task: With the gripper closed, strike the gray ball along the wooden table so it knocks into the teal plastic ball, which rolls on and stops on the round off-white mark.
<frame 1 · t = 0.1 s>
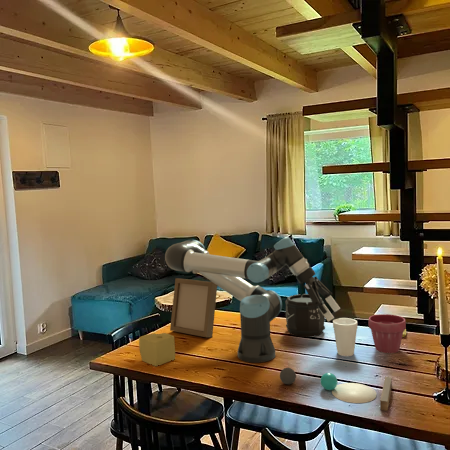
hand: (334, 314, 186), 15 cm above the table, tool tilted 35°, fingers open, 13 cm apart
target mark: (353, 392, 151), on the table
saucer: (395, 335, 205), on the table
photo frame: (197, 331, 221), on the table
black lettered pot: (304, 331, 214), on the table
gray ball: (287, 376, 160), on the table
foam cup: (345, 353, 185), on the table
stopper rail: (386, 397, 147), on the table
plant pot: (387, 349, 187), on the table
object ball: (328, 381, 154), on the table
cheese: (158, 360, 186), on the table
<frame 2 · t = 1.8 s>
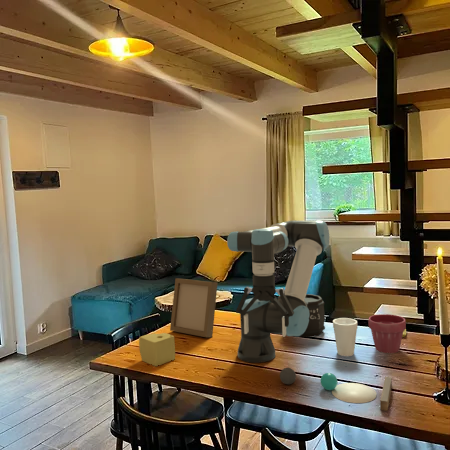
hand: (265, 334, 162), 17 cm above the table, tool pointing down, fingers open, 13 cm apart
nothing on the table moved.
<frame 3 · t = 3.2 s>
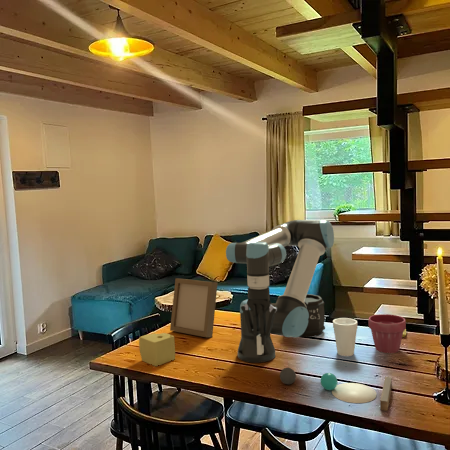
hand: (260, 353, 162), 10 cm above the table, tool pointing down, fingers closed
nothing on the table moved.
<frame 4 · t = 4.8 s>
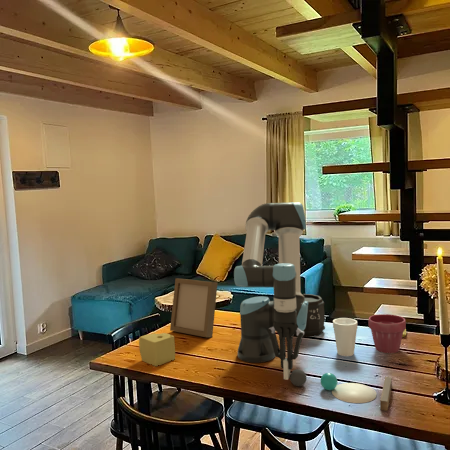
hand: (287, 377, 158), 3 cm above the table, tool pointing down, fingers closed
gray ball: (298, 377, 158), on the table
everything else where it was.
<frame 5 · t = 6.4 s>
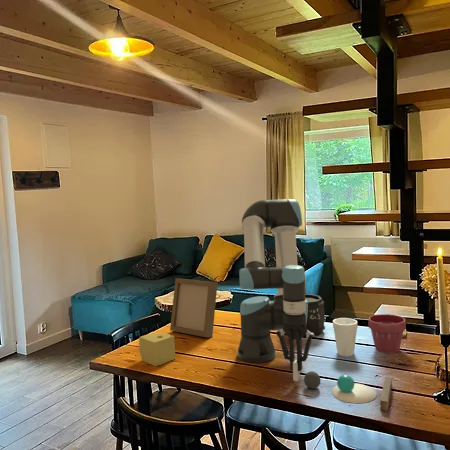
hand: (296, 379, 158), 2 cm above the table, tool pointing down, fingers closed
gray ball: (312, 380, 156), on the table
object ball: (345, 383, 152), on the table
everything else where it was.
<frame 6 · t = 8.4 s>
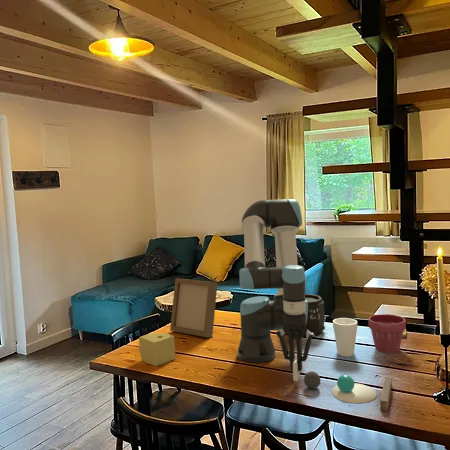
hand: (296, 379, 158), 2 cm above the table, tool pointing down, fingers closed
nothing on the table moved.
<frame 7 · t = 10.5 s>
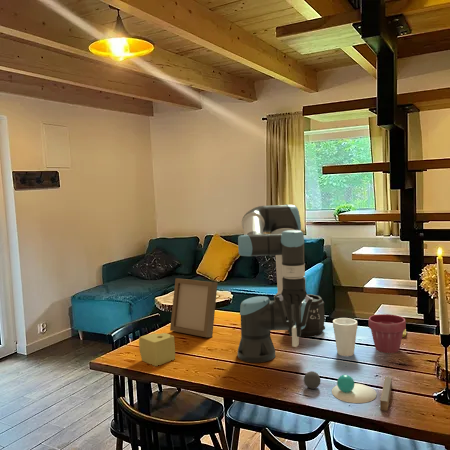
hand: (295, 345, 157), 14 cm above the table, tool pointing down, fingers closed
nothing on the table moved.
at the end: object ball 2.6 cm from the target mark (horizontally); object ball never touched the robot; gray ball first touched object ball at 5.0 s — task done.
